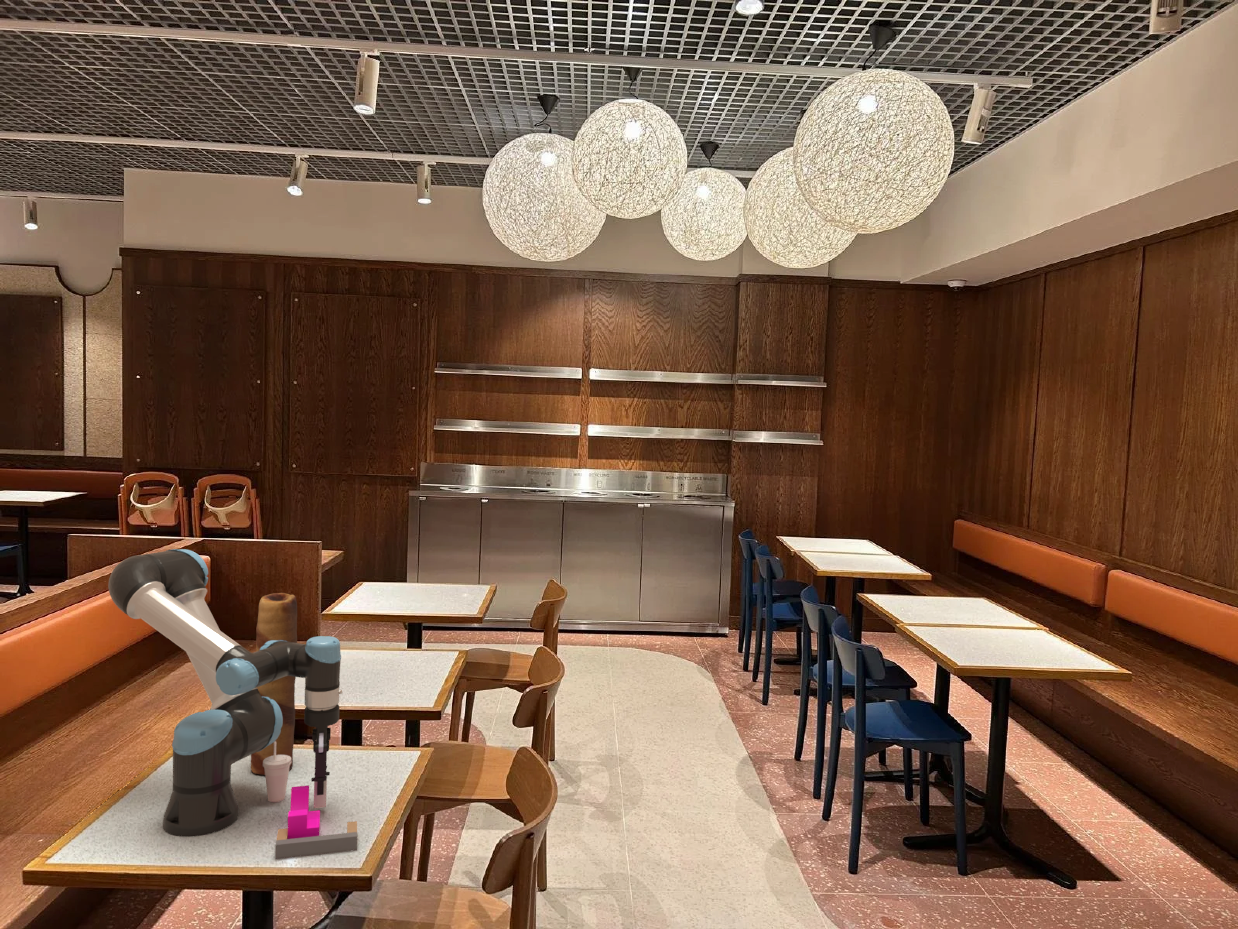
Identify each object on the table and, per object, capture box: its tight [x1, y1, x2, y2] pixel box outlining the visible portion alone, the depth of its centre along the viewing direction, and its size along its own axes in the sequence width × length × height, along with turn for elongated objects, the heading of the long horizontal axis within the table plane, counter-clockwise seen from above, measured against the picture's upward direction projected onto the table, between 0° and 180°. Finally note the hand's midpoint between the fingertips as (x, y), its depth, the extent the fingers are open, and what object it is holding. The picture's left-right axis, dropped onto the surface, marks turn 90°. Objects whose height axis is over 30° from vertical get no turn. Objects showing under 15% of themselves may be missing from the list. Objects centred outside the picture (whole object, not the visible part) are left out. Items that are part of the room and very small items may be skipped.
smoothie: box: [263, 741, 292, 803], centre depth 202 cm, size 6×6×14 cm
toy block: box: [287, 785, 321, 839], centre depth 187 cm, size 15×6×8 cm, turn 18°
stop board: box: [274, 821, 358, 860], centre depth 180 cm, size 16×7×4 cm, turn 108°
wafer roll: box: [250, 592, 298, 776], centre depth 218 cm, size 10×11×45 cm
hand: (319, 806), depth 196 cm, fingers closed
